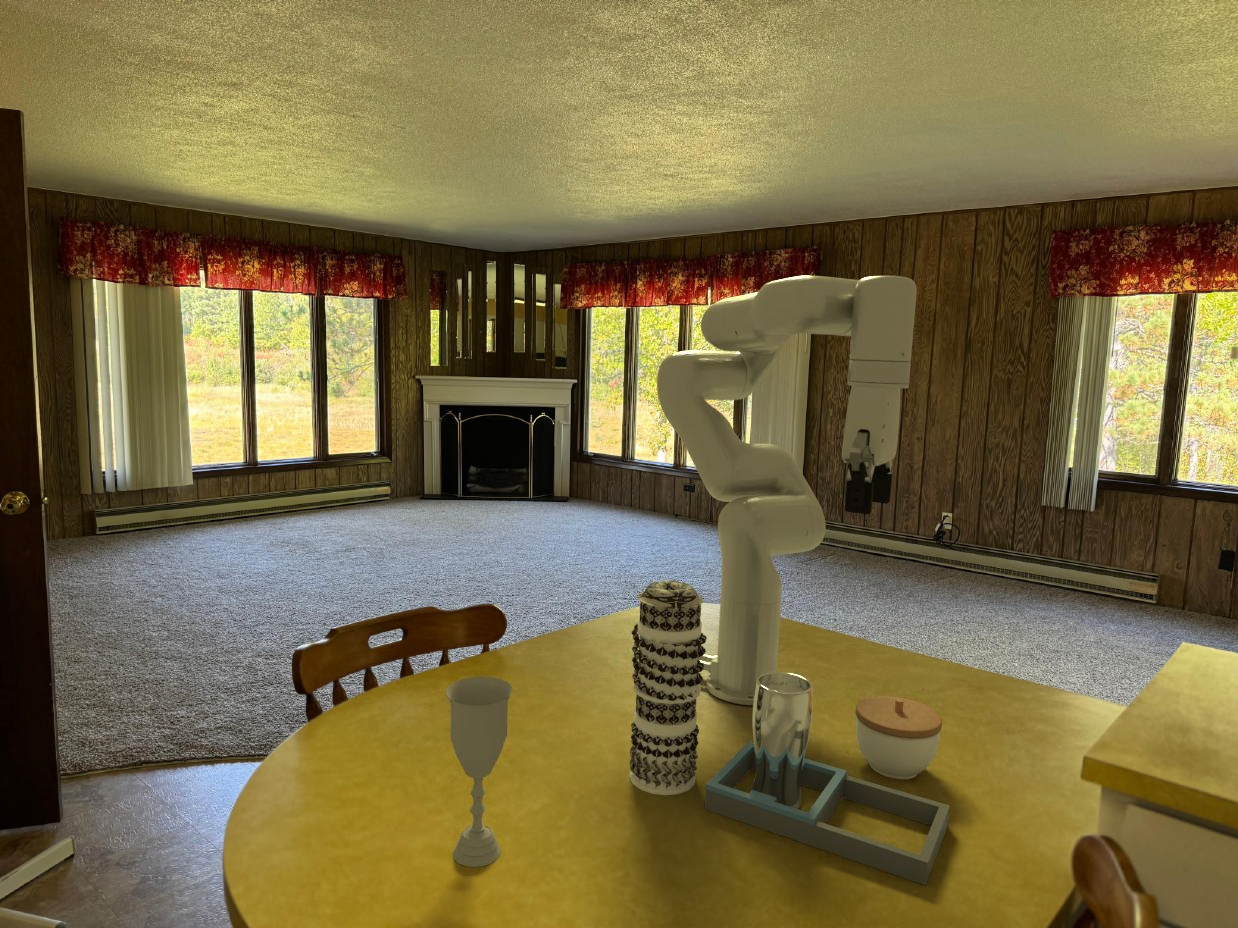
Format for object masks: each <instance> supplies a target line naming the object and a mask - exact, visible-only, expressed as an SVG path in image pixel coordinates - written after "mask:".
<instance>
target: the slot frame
mask: <svg viewBox="0 0 1238 928" xmlns="http://www.w3.org/2000/svg"><path fill="white" fill-rule="evenodd" d="M751 770H752V771H755V772H756V756H755V748H754V742H749V741H747V742H746V743H745V744H744V746H743V747H742V748H741V749H740V750H738V751H737V753H735V754H734V755H733V756H732V758H730V760H729V761H728V762H727V763H726V764H725V765H724V766H723V767H722V768H721V769H720V770H718V771H717V773H716V774H715V775H713V777H712V778H711V779H710V780H709V781H708V782H707V783H706V784H705V799H704V800H705V801H704V810H706V811H709V812H712V813H716V814H718V815H722V816H724V817H726V818H729V819H733V820H736V821H738V822H740V823H741V822H742V823H744V824H748V825H749V826H750V825H751V826H753V827H755V828H756V827H757V828H759V829H761V830H764V831H767V832H771V833H773V834H777V835H779V836H782V837H784V838H788V839H790V840H794V841H797V842H799V843H803V844H806V845H807V846H811V847H813V848H816V849H820V850H822V851H825V852H828V853H832V854H834V855H837V856H840V857H843V858H845V859H848V860H851V861H855V862H856V863H860V864H863V865H865V866H869V867H871V868H873V869H877V870H880V871H884V872H886V873H888V874H892V875H895V876H897V877H900V878H902V879H903V878H904V879H906V880H909V881H912V882H914V883H918V884H920V885H924V886H926V885H927V883H928V881H929V878H930V876H931V874H932V870H933V867H934V864H935V862H936V859H937V856H938V854H939V851H940V848H941V846H942V843H943V841H944V837H945V835H946V832H947V830H948V826H949V821H950V820H949V819H950V807H951V806H950V805H949V804H946V803H942V802H939V801H937V800H931V799H929V798H925V797H922V796H918V795H914V794H911V793H908V792H905V791H902V790H898V789H895V788H891V787H888V786H884V785H881V784H877V783H874V782H871V781H867V780H864V779H860V778H858V777H855V776H850V775H848V770H846V769H842V768H839V767H835V766H834V765H833V766H832V765H829V764H825V763H822V762H818V761H814V760H811V759H809V758H805V757H804V760H803V764H802V768H801V774H800V786H802V787H803V786H804V787H807V788H810V789H813V790H816V791H819V792H821V794H820V795H819V796H818V798H817V799H816V801H815V802H814V803H813V805H812V806H811V807H810V809H809V810H808V812H807V811H804V810H801V809H795V808H792V807H789V806H786V805H783V804H780V803H777V798H776V797H773V796H770V795H767V794H764V793H761V792H758V791H754V790H752V789H751V790H750V792H746V791H742V790H739V789H736V787H737V786H738V785H739V784H740V783H741V781H742V780H743V779H744V778H745V777H746V775H748V773H749V772H750V771H751ZM843 799H846V800H849V801H851V802H856V803H858V804H861V805H865V806H868V807H871V808H875V809H878V810H881V811H885V812H886V813H889V814H894V815H897V816H900V817H904V818H905V819H910V820H913V821H917V822H920V823H922V824H926V825H929V826H930V828H929V831H928V834H927V836H926V839H925V842H924V843H923V846H922V849H921V851H920V853H915V852H913V851H909V850H907V849H904V848H900V847H897V846H894V845H891V844H888V843H885V842H882V841H879V840H876V839H873V838H869V837H867V836H864V835H861V834H858V833H856V832H852V831H848V830H846V829H842V828H840V827H836V826H833V825H830V824H828V821H829V820H830V818H831V817H832V816H833V815H834V812H835V811H836V810H837V808H838V806H839V804H840V803H841V801H842V800H843Z"/></svg>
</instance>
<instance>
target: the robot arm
mask: <svg viewBox="0 0 1238 928" xmlns="http://www.w3.org/2000/svg"><path fill="white" fill-rule="evenodd" d="M917 289H918V288H917V285H916V283H915V280H913V279H911V278H910V277H906V276H899V275H873V276H871V275H870V276H866V277H863V278H861V279H850V278H843V277H832V276H824V275H823V276H821V275H798V276H792V277H786V278H782V279H777V280H772V281H770V282H766V283H765V284H763V286H761V288H760V289H759V290H758V291H756V292H752V293H747V294H742V295H738V296H737V295H736V296H732V297H731V296H730V297H727V298H723V299H720V300H718V301H716V302H714V303H712V304H711V305H710V306H708V308H707V309H706V310H705V311H704V312H703V315H702V317H701V322H700V331H701V333H702V336H703V338H704V340H705V341H706V342H707V343H708V344H710V345H711V346H712V347H714V348H715V349H718V350H707V349H706V350H704V349H703V350H702V349H698V350H697V349H693V350H692V349H690V350H682V351H678V352H674V353H671V354H670V355H668V356H666V357H665V358H664V360H662V362H661V363H660V365H659V368H658V370H657V376H656V387H657V388H656V389H657V391H656V392H657V397H658V402H659V405H660V407H661V410H662V412H663V415H664V416H665V418H666V419H667V421H668V422H669V425H670V426H671V427H672V429H673V430H674V431H675V432H676V434H677V435H678V437H679V438H680V439H681V441H682V443H683V444H684V446H685V448H686V450H687V452H688V453H687V454H688V455H689V457H690V458H691V461H692V462H693V465H694V466H695V468H696V471H697V473H698V474H699V477H700V479H701V481H702V483H703V485H704V486H705V489H706V490H707V493H709V495H710V496H711V497H712V498H714V499H715V500H717V501H720V502H728V503H727V504H726V505H725V506H723V508H722V509H721V511H720V513H719V514H718V515H719V516H718V519H717V531H718V533H717V534H718V541H719V546H720V558H721V581H720V583H721V584H720V604H719V606H720V607H719V621H718V622H719V623H718V640H717V654H715V655H709V654H708V653H704V655H703V656H701V657H699V658H697V659H698V660H699V661H701V663H703V664H704V668H703V670H702V671H708V673H709V674H708V675H707V677H706V680H705V681H706V683H705V686H706V690H707V691H708V692H709V693H710V694H711V695H713V696H714V697H716V698H718V699H719V700H722V701H723V702H724V701H725V702H728V703H732V704H737V705H743V706H753V703H754V695H755V689H756V682H757V677H758V676H759V675H761V674H763V673H767V672H778V670H777V669H778V655H779V641H780V640H779V638H780V627H781V626H780V623H781V612H782V611H781V610H782V595H783V594H782V593H783V591H782V590H783V586H782V585H783V584H782V579H781V576H780V574H779V573H778V570H777V568H776V567H775V565H774V563H773V558H772V557H774V556H775V557H776V556H780V555H781V556H782V555H788V554H789V555H790V554H797V553H804V552H809V551H812V550H814V549H816V548H817V547H818V546H819V545H820V544H821V543H822V542H823V541H824V538H825V534H826V519H825V518H826V517H825V515H824V512H823V508H822V506H821V504H820V503H819V500H818V498H817V497H816V495H815V493H814V492H813V490H812V489H811V486H810V485H809V483H808V481H807V479H806V478H805V476H804V474H803V473H802V471H801V469H800V468H799V466H798V464H797V462H796V461H795V459H794V458H793V457H792V455H791V454H790V453H789V452H788V451H787V450H785V449H784V448H782V447H781V446H779V445H777V444H772V443H747V442H744V441H742V440H741V439H740V438H739V437H738V435H737V434H736V432H735V431H734V428H733V426H732V425H731V423H730V421H729V420H728V418H727V417H726V416H725V415H724V414H723V413H722V412H720V411H719V410H718V409H717V408H715V407H714V406H713V405H711V404H710V403H709V402H707V401H724V400H725V401H739V400H743V399H746V398H748V397H749V396H750V395H752V393H753V392H754V391H756V389H758V386H759V385H760V383H761V382H762V380H763V379H764V377H765V376H766V374H767V373H768V371H769V370H770V368H771V367H772V366H773V364H774V363H775V361H776V359H777V358H778V356H779V354H781V352H782V349H783V348H784V346H785V344H786V342H788V341H789V340H790V339H791V338H792V336H793V335H799V334H802V335H807V334H808V335H827V336H828V335H831V336H843V337H850V342H849V343H850V346H849V357H848V358H849V361H848V370H847V371H848V373H847V382H846V383H847V386H848V387H849V386H850V387H851V388H850V392H849V397H848V403H847V408H846V409H847V410H846V417H845V425H844V433H843V438H842V449H841V459H842V461H843V462H844V463H845V464H847V469H848V470H847V474H846V479H847V480H846V488H845V489H846V490H845V502H844V504H845V505H844V511H845V512H846V513H854V514H860V515H861V514H863V515H870V514H872V509H873V503H880V504H885V505H886V504H887V505H888V504H889V503H890V501H891V492H892V483H893V473H892V472H893V460H894V459H895V457H896V454H897V450H898V440H899V430H900V413H901V412H900V410H901V389H909V388H910V387H909V386H910V375H911V374H910V373H911V364H912V362H911V361H912V349H913V338H914V326H915V316H916V305H917V304H916V303H917ZM866 467H867V468H866Z"/></svg>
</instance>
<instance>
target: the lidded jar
mask: <svg viewBox="0 0 1238 928" xmlns="http://www.w3.org/2000/svg"><path fill="white" fill-rule="evenodd" d="M855 716H856V717H855V734H856V735H855V736H856V741H857V746H858V748H859V751H860V752H861V755H862V756H863V758H864V759H865V760H866V761H867V762H868V764H869V766H870V768H871V769H872V770H873V771H874V772H876V774H878V775H881V776H883V777H886V778H889V779H895V780H911V779H914V778H916V777H917V776H918V775H919V774H920V773H922V772H923V771H924V770H926V769H927V768H928V767H929V766H930V764H932V762H933V761H934V759H935V757H936V753H937V752H938V747H939V744H940V736H941V730H942V727H943V720H942V717H941V716H940V714H939V713H938V712H937V711H936V710H934V709H933V708H932V707H930V706H928V705H926V704H924V703H921V702H919V701H915V700H912V699H909V698H903V697H899V696H891V695H878V696H877V695H873V696H869V697H864V698H863V699H860V700H859V701H858V703H857V704H856V706H855Z"/></svg>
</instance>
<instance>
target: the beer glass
mask: <svg viewBox="0 0 1238 928" xmlns="http://www.w3.org/2000/svg"><path fill="white" fill-rule="evenodd" d="M751 719H752V721H751V725H752V736H753V737H752V738H753V743H754V748H755V756H756V771H755V776H754V779H753V784H752V788H751V791H752V790H754V791H758V792H761V793H764V794H767V795H770V796H773V797H776V798H777V803H780V804H783V805H786V806H789V807H792V808H795V809H798V810H800V808H801V806H802V803H803V797H802V789H801V785H800V774H801V768H802V764H803V760H804V758H805V756H806V753H807V749H808V745H809V744H808V743H809V740H810V736H811V730H812V721H813V683H812V682H811V681H810V680H809V679H807V678H806V677H804V676H802V675H800V674H796V673H792V672H785V671H777V672H767V673H763V674H761V675H759V676H758V677H757V682H756V689H755V695H754V703H753V705H752V717H751Z"/></svg>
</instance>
